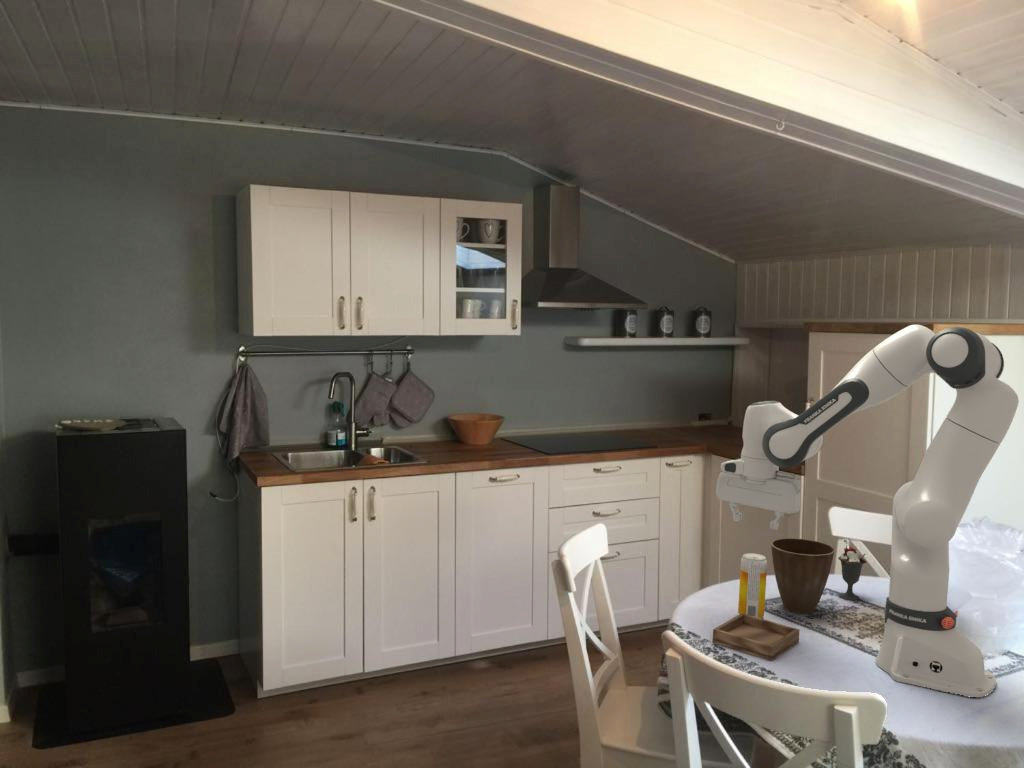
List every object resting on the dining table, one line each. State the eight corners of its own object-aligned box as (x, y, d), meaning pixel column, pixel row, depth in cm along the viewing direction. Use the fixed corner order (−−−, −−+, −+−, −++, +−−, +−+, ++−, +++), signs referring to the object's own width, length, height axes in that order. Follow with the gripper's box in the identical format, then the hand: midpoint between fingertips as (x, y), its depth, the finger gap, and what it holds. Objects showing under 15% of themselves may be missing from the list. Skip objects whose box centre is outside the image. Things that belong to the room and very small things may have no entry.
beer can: (761, 613, 212) (764, 553, 211) (766, 622, 206) (769, 561, 205) (736, 611, 213) (739, 552, 211) (740, 620, 207) (743, 559, 205)
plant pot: (754, 604, 218) (758, 542, 216) (793, 594, 226) (797, 534, 225) (804, 623, 206) (808, 558, 204) (843, 612, 214) (847, 549, 212)
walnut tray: (798, 642, 194) (799, 629, 194) (771, 660, 184) (772, 647, 184) (741, 625, 203) (742, 613, 203) (712, 642, 193) (713, 629, 193)
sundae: (830, 593, 228) (833, 538, 226) (851, 591, 230) (855, 536, 228) (846, 602, 221) (850, 545, 220) (868, 600, 223) (872, 543, 222)
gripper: (807, 473, 201) (802, 531, 203) (727, 459, 215) (723, 514, 216) (796, 477, 197) (791, 536, 198) (714, 462, 210) (711, 518, 211)
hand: (755, 524), depth 207 cm, fingers open, 8 cm apart
